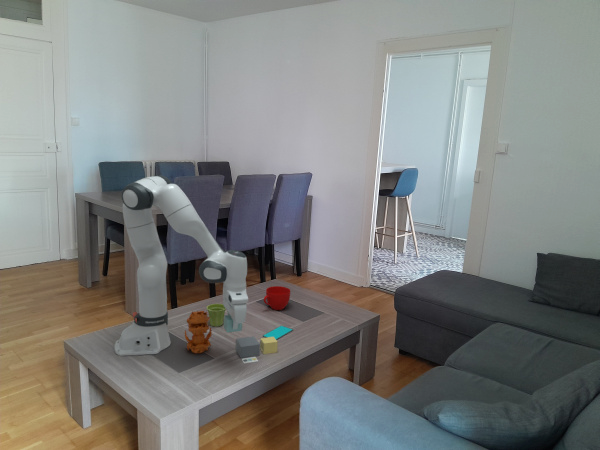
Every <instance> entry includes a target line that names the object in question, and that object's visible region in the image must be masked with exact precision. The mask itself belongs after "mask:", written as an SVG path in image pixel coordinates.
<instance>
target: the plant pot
mask: <svg viewBox="0 0 600 450" xmlns="http://www.w3.org/2000/svg"><path fill="white" fill-rule="evenodd" d="M206 310H207V313H208V317H210V318H209V324H210V326H212V327H213V326H214V327H215V328H216V327H220V326H222V325H223V326H224V315H225V314H226V311H227V310H226V309H225V307H224V305H223V303H212V304H209V305H207V306H206Z"/></svg>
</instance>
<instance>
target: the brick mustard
mask: <svg viewBox="0 0 600 450" xmlns="http://www.w3.org/2000/svg"><path fill="white" fill-rule="evenodd" d="M259 340H260V341H259V344H260V352H262V354H263V355H268V354H275V353H276V354H277V353H278V340H276V339H275V338H274V337H268V338H265V337H262V338H260V339H259Z"/></svg>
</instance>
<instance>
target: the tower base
mask: <svg viewBox="0 0 600 450" xmlns="http://www.w3.org/2000/svg"><path fill="white" fill-rule="evenodd" d="M235 351H236V353H237V355H238V356H239V358H240V359H243V358H249V357H259V356H260V355H261V350H260V341H258V340H257V338H256V337H255V336H246V337H239V338H238V337H237V338H236V339H235Z"/></svg>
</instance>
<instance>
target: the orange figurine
mask: <svg viewBox="0 0 600 450" xmlns="http://www.w3.org/2000/svg"><path fill="white" fill-rule="evenodd" d="M209 318H210V317H209V315H208V311H206V312H205V310H200V311H199V310H197V311H194V310H193V311H192V312H191V313H190V314H189V317H188V318H187V319H186V323H187V326H188V329H187V330H188V332H190V333H191V334H192V336H191V339H190V338H189V337H188V335H187V330H186V329H185V330H184V338H185V340H186V342H187V344H186V349H187V351H189V350H190V351H191V353H194V354H202V353H204V352H205V351H208V350H209V349H208V348H210V347H212V344H211V341H210V338H211V337H212V333H213V332H212V330H213V329H212V327H210V326H209V323H208V322H210V319H209ZM206 333H207V335H206V336H205V334H206Z"/></svg>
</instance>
